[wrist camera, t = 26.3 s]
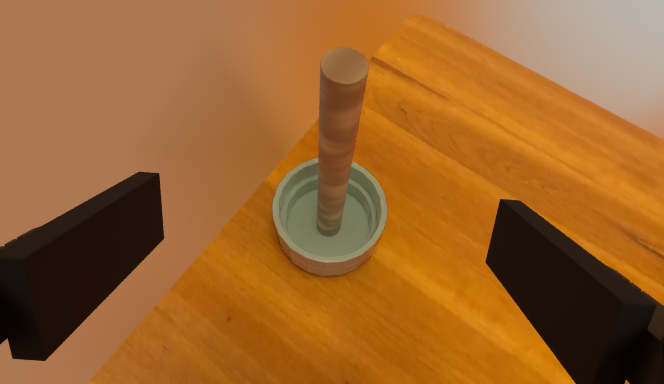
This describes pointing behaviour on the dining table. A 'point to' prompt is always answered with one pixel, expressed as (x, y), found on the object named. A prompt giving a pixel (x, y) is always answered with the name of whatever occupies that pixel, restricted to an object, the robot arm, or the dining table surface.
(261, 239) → the dining table surface
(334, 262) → the bowl
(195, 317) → the dining table surface
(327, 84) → the stick
